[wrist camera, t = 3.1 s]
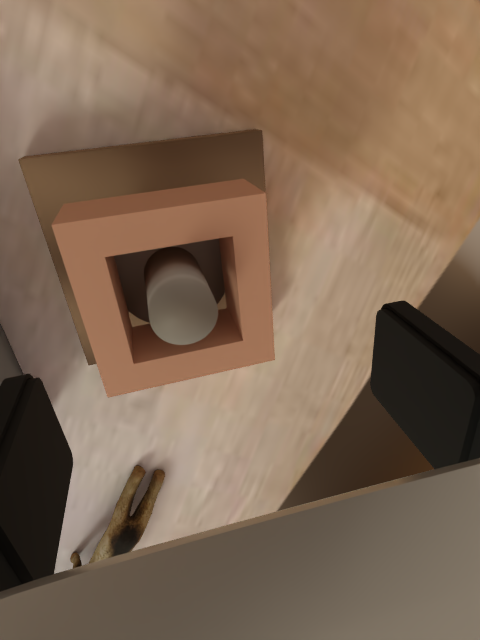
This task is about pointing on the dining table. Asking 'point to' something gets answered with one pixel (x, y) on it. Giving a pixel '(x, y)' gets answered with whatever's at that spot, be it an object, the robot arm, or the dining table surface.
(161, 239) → the ring
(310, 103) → the dining table surface
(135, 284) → the brown piece
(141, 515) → the figurine
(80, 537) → the dining table surface
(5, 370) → the tray
